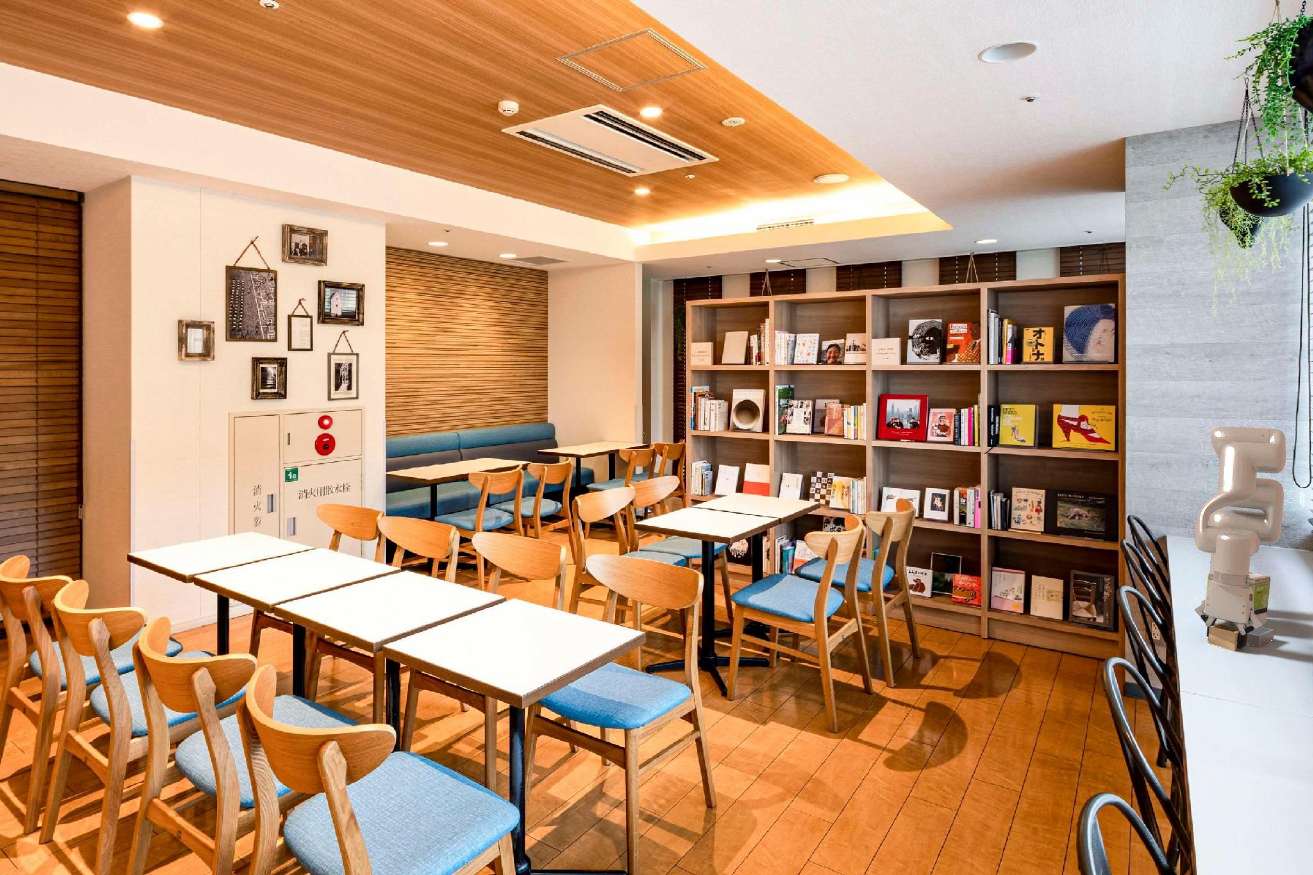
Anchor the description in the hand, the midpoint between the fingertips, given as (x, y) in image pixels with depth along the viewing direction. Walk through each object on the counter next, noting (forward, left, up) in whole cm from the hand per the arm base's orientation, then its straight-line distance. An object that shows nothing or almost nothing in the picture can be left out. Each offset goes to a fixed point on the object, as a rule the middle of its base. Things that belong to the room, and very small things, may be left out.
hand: (1225, 643), depth 207 cm
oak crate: (0, 0, -1) cm, 1 cm away
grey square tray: (-12, 0, -1) cm, 12 cm away
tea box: (-26, -7, -1) cm, 27 cm away
